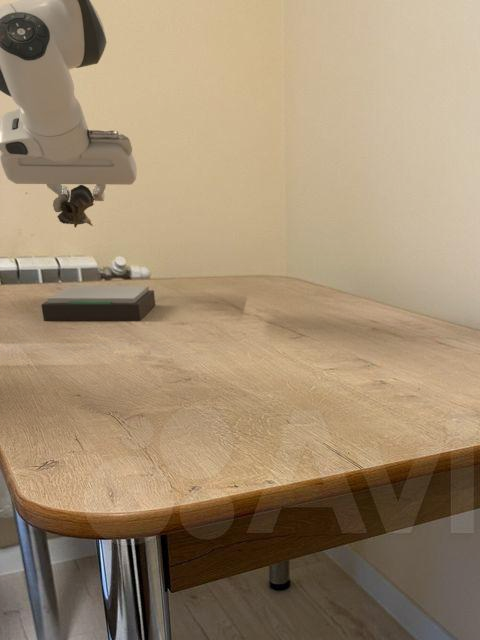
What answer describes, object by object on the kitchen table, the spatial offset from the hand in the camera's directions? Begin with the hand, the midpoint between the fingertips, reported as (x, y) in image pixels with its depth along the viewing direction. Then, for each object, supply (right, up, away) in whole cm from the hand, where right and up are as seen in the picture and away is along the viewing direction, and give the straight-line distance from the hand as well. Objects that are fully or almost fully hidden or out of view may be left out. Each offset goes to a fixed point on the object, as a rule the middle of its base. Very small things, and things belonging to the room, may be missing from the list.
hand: (82, 198), depth 121 cm
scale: (+7, -22, -9) cm, 24 cm away
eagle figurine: (-1, -5, +1) cm, 5 cm away
